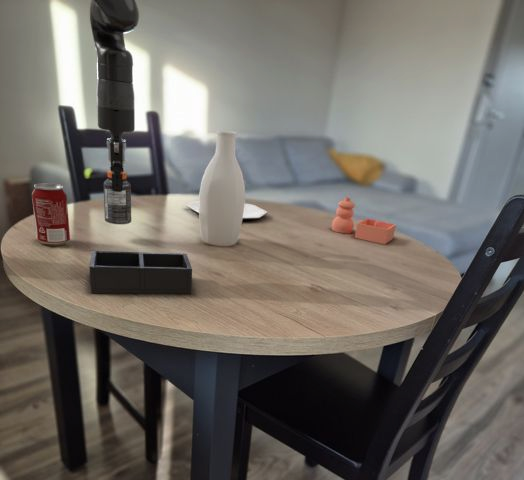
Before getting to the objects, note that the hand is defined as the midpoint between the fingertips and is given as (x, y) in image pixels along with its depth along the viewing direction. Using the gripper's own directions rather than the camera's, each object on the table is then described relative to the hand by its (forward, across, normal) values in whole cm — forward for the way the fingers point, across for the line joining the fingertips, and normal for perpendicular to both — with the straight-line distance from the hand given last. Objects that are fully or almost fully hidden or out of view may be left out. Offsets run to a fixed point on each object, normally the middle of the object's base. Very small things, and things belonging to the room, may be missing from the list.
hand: (117, 188), depth 108 cm
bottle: (+11, -1, +24) cm, 27 cm away
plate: (+11, -33, +32) cm, 48 cm away
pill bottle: (+8, 0, 0) cm, 8 cm away
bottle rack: (+12, +30, +4) cm, 32 cm away
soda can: (+12, +5, -14) cm, 19 cm away
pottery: (+11, -14, +69) cm, 72 cm away
